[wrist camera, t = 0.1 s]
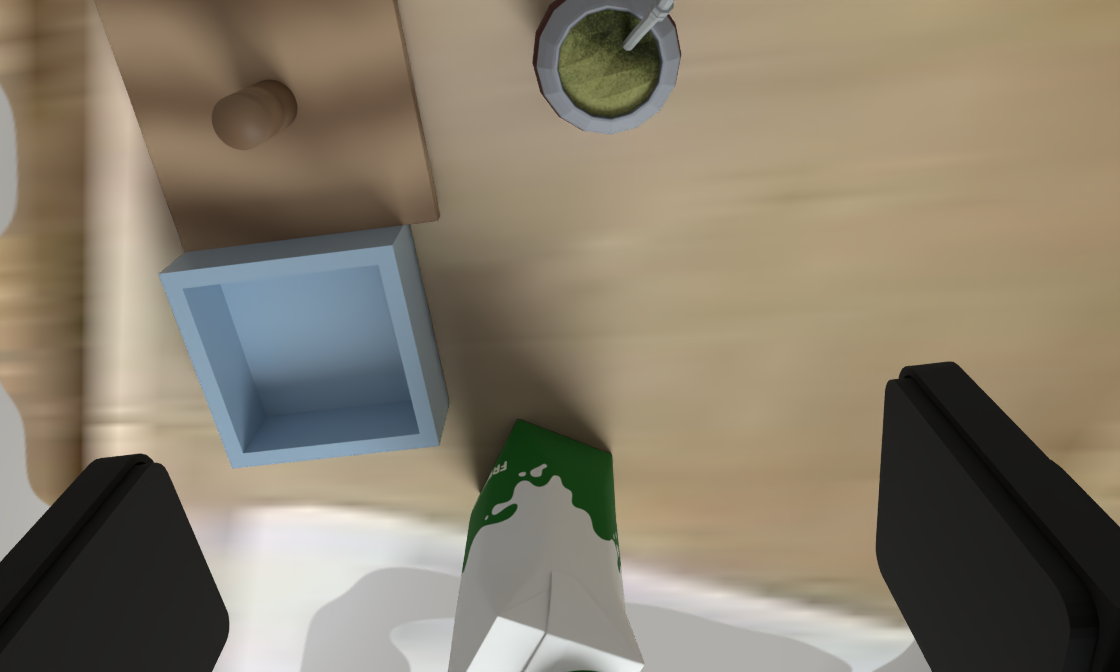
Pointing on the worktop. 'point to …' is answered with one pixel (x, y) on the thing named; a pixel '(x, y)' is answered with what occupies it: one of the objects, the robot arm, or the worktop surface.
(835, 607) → the worktop surface
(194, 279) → the dish
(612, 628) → the milk carton
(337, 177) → the lid
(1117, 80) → the worktop surface
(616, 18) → the mate gourd
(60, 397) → the worktop surface
